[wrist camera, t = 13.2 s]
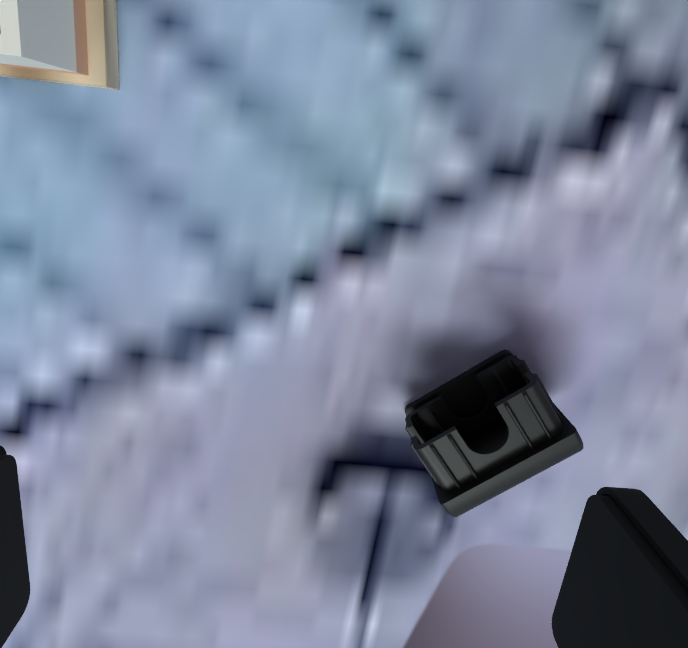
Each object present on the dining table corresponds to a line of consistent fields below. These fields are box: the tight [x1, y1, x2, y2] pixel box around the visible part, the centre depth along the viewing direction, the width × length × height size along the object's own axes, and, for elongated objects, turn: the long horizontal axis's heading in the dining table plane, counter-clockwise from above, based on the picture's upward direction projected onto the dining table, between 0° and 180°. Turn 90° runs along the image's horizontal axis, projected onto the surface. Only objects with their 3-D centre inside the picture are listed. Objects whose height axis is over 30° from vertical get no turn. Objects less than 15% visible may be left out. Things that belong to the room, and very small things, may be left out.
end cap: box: [405, 350, 583, 517], centre depth 37 cm, size 10×7×7 cm
